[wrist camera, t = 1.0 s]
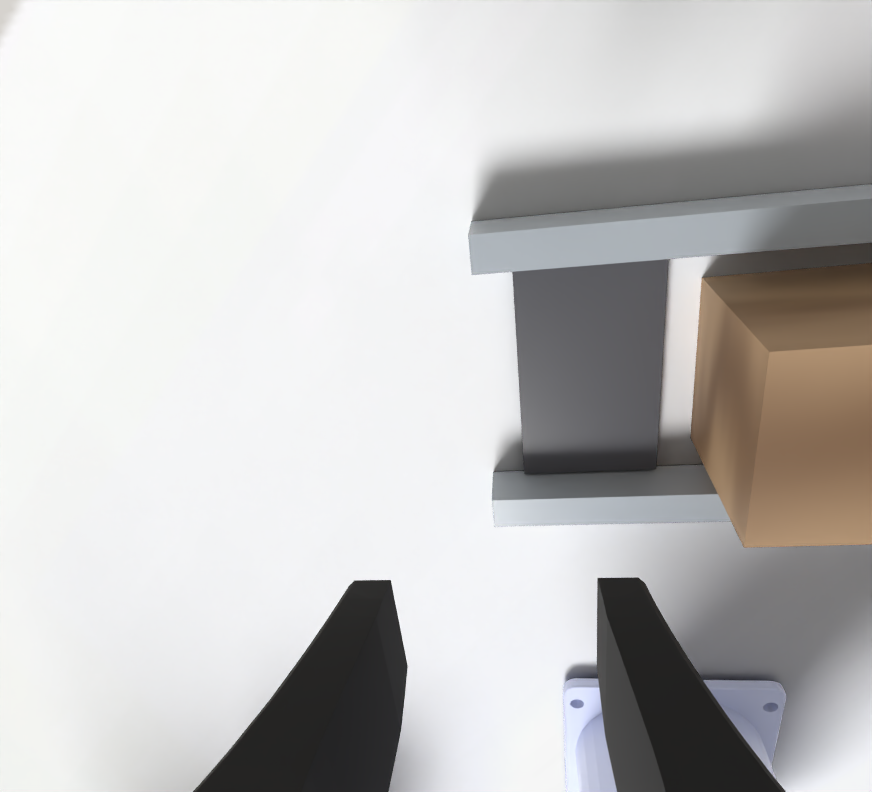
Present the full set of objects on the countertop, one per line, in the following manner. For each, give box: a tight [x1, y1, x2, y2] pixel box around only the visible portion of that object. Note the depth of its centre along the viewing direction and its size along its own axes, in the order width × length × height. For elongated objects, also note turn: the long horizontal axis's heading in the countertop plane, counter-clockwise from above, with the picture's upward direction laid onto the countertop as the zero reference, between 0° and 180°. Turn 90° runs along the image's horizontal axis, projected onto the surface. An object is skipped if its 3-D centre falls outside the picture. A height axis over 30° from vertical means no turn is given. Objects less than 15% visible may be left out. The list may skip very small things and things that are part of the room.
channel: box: [468, 184, 872, 527], centre depth 16 cm, size 9×20×2 cm, turn 96°
